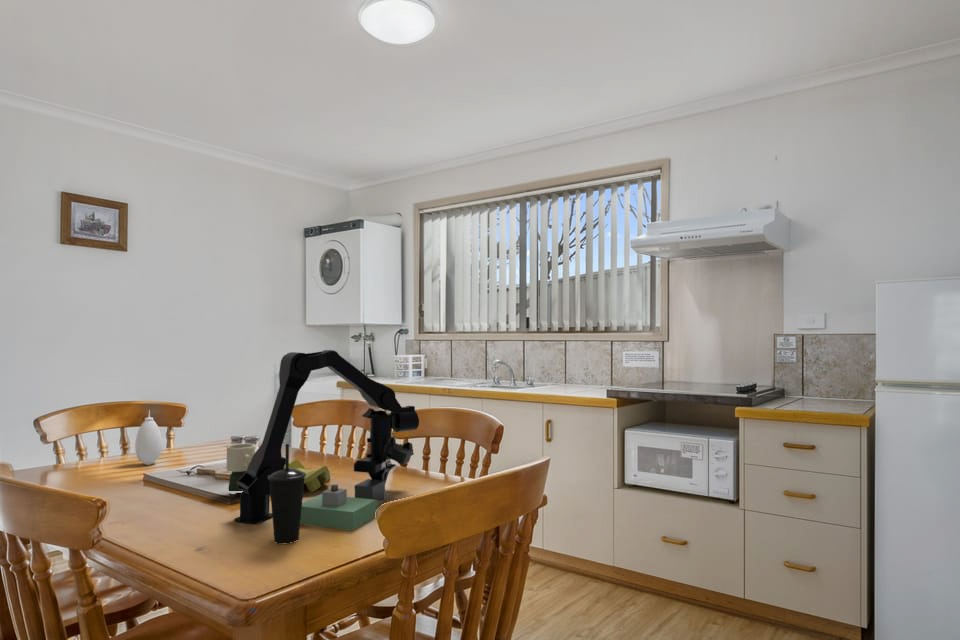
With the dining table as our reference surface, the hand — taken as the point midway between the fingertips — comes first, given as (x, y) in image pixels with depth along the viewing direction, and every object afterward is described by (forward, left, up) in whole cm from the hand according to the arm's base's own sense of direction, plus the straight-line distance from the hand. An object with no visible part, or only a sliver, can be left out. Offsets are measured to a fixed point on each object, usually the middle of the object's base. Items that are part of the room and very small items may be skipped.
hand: (380, 492), depth 163 cm
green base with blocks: (-18, 0, -1) cm, 18 cm away
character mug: (-10, +36, -1) cm, 38 cm away
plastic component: (+2, +25, -1) cm, 26 cm away
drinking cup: (-37, +2, -1) cm, 37 cm away
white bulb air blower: (+11, +90, -1) cm, 91 cm away
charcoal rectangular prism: (-6, 0, -1) cm, 6 cm away
